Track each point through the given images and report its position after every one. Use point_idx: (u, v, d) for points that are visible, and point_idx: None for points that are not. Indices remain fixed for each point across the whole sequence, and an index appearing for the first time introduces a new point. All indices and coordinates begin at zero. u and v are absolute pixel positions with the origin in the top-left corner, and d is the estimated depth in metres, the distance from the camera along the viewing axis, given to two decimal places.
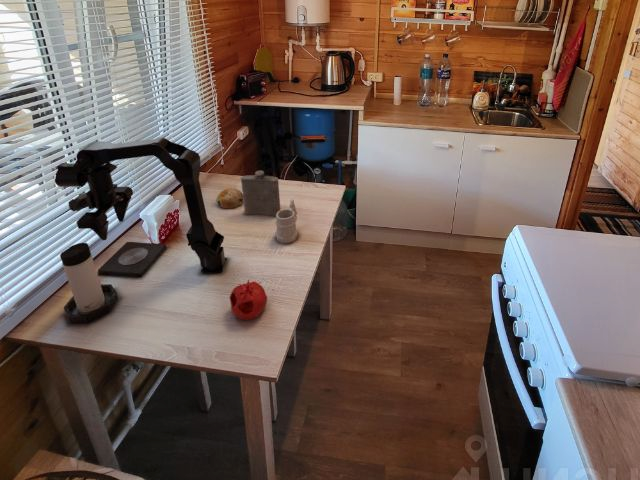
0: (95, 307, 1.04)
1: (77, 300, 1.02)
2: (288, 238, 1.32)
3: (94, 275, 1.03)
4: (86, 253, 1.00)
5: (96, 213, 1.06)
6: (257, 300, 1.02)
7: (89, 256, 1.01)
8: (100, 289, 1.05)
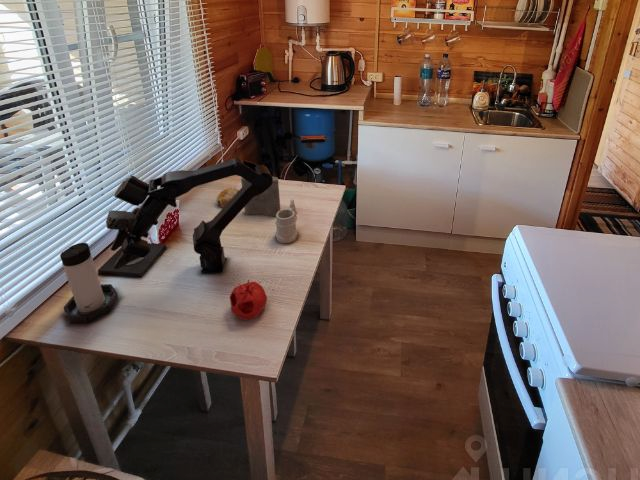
0: (95, 307, 1.04)
1: (77, 300, 1.02)
2: (288, 238, 1.32)
3: (94, 275, 1.03)
4: (86, 253, 1.00)
5: (143, 241, 1.02)
6: (257, 300, 1.02)
7: (89, 256, 1.01)
8: (100, 289, 1.05)
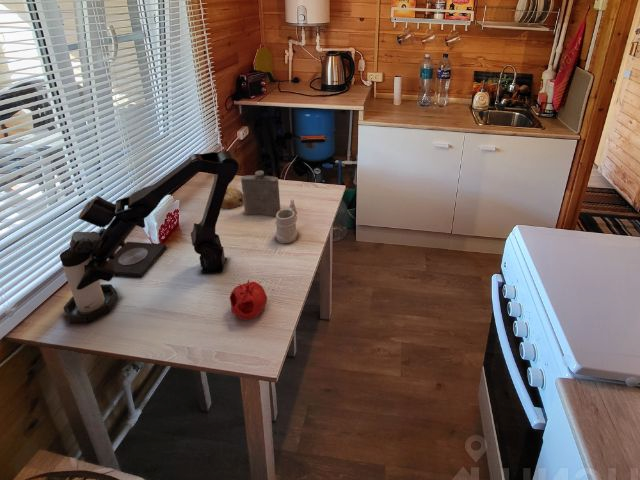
0: (95, 307, 1.04)
1: (77, 300, 1.02)
2: (288, 238, 1.32)
3: None
4: (86, 253, 1.00)
5: (108, 263, 1.00)
6: (257, 300, 1.02)
7: (89, 256, 1.01)
8: (100, 289, 1.05)
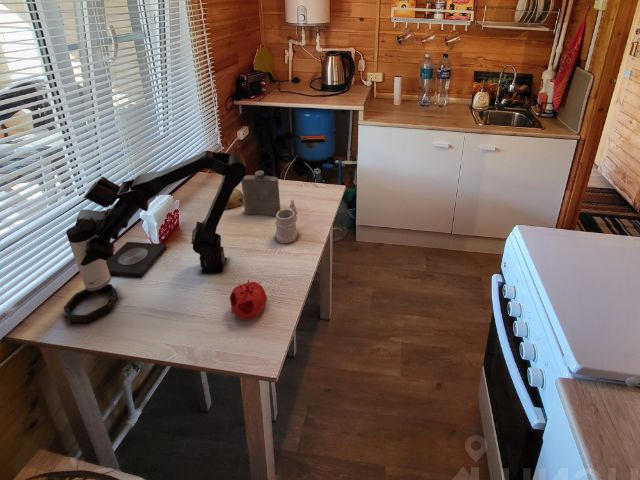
0: (99, 284, 1.07)
1: (82, 275, 1.05)
2: (288, 238, 1.32)
3: None
4: (90, 231, 1.02)
5: (108, 243, 1.01)
6: (257, 300, 1.02)
7: (93, 234, 1.03)
8: (105, 267, 1.08)
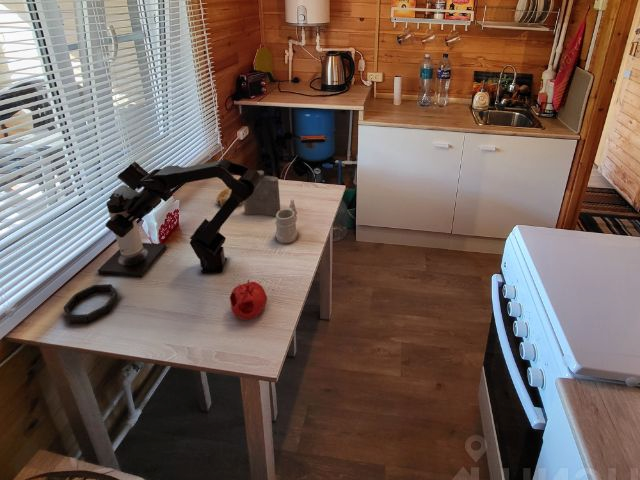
0: (128, 253, 1.20)
1: (117, 241, 1.19)
2: (288, 238, 1.32)
3: None
4: (122, 206, 1.14)
5: (127, 222, 1.11)
6: (257, 300, 1.02)
7: (125, 210, 1.15)
8: (135, 240, 1.20)
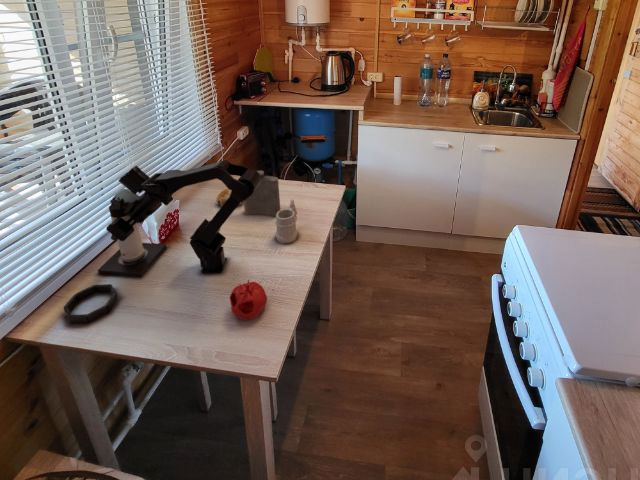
0: (129, 258, 1.20)
1: None
2: (288, 238, 1.32)
3: None
4: None
5: (128, 226, 1.11)
6: (257, 300, 1.02)
7: (127, 214, 1.16)
8: (136, 244, 1.21)
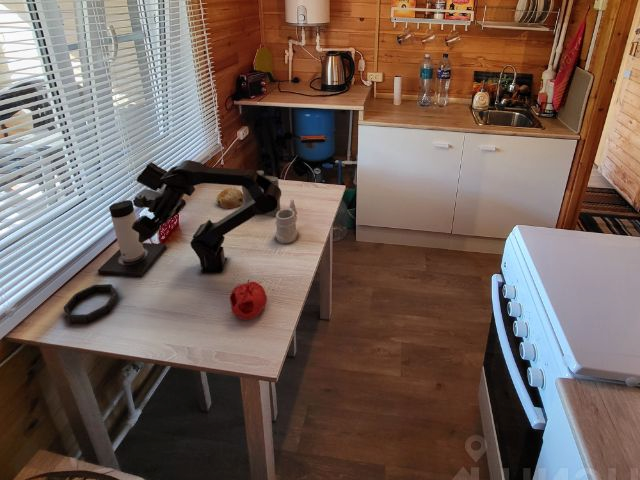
0: (129, 258, 1.20)
1: (119, 246, 1.20)
2: (288, 238, 1.32)
3: (131, 231, 1.18)
4: (124, 211, 1.15)
5: (153, 222, 1.08)
6: (257, 300, 1.02)
7: (128, 214, 1.16)
8: (137, 245, 1.21)
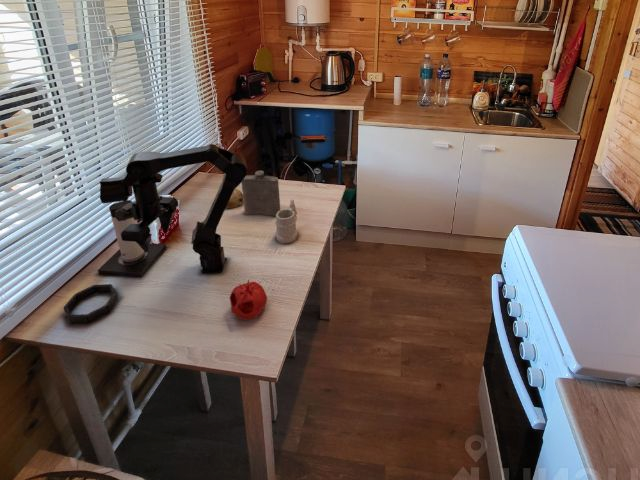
0: (129, 258, 1.20)
1: (119, 246, 1.20)
2: (288, 238, 1.32)
3: None
4: None
5: (140, 226, 1.03)
6: (257, 300, 1.02)
7: None
8: (137, 245, 1.21)
